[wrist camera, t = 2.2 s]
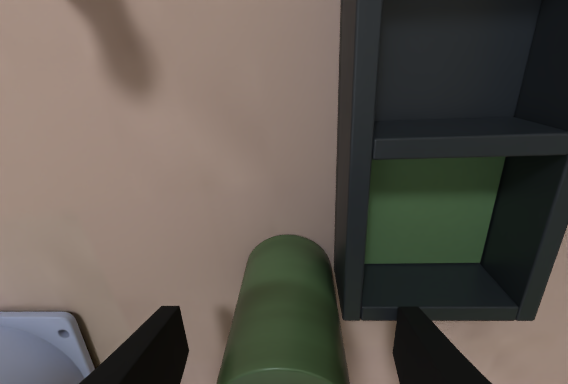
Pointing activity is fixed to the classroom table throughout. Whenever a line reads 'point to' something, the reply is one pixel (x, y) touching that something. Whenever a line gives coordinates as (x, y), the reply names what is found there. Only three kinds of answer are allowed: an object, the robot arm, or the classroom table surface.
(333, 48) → the classroom table surface
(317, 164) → the classroom table surface
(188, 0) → the classroom table surface
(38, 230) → the classroom table surface
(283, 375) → the sage peg
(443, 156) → the tray
